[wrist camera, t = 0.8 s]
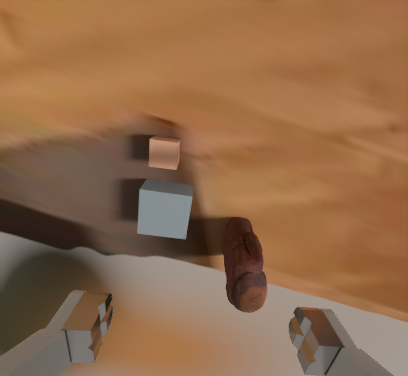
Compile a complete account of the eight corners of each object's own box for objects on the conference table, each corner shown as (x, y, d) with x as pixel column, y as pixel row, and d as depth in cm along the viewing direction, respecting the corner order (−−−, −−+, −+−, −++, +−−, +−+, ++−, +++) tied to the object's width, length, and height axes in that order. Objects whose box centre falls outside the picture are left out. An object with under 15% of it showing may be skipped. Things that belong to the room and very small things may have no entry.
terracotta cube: (155, 134, 40) (149, 139, 36) (180, 138, 41) (178, 142, 36) (154, 159, 42) (148, 166, 38) (178, 162, 43) (175, 169, 38)
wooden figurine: (244, 256, 52) (264, 328, 36) (219, 254, 52) (228, 326, 35) (254, 216, 48) (283, 277, 31) (227, 213, 47) (242, 273, 31)
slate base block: (147, 178, 44) (139, 189, 38) (193, 185, 45) (192, 196, 39) (144, 218, 48) (137, 233, 42) (187, 223, 48) (185, 239, 43)
